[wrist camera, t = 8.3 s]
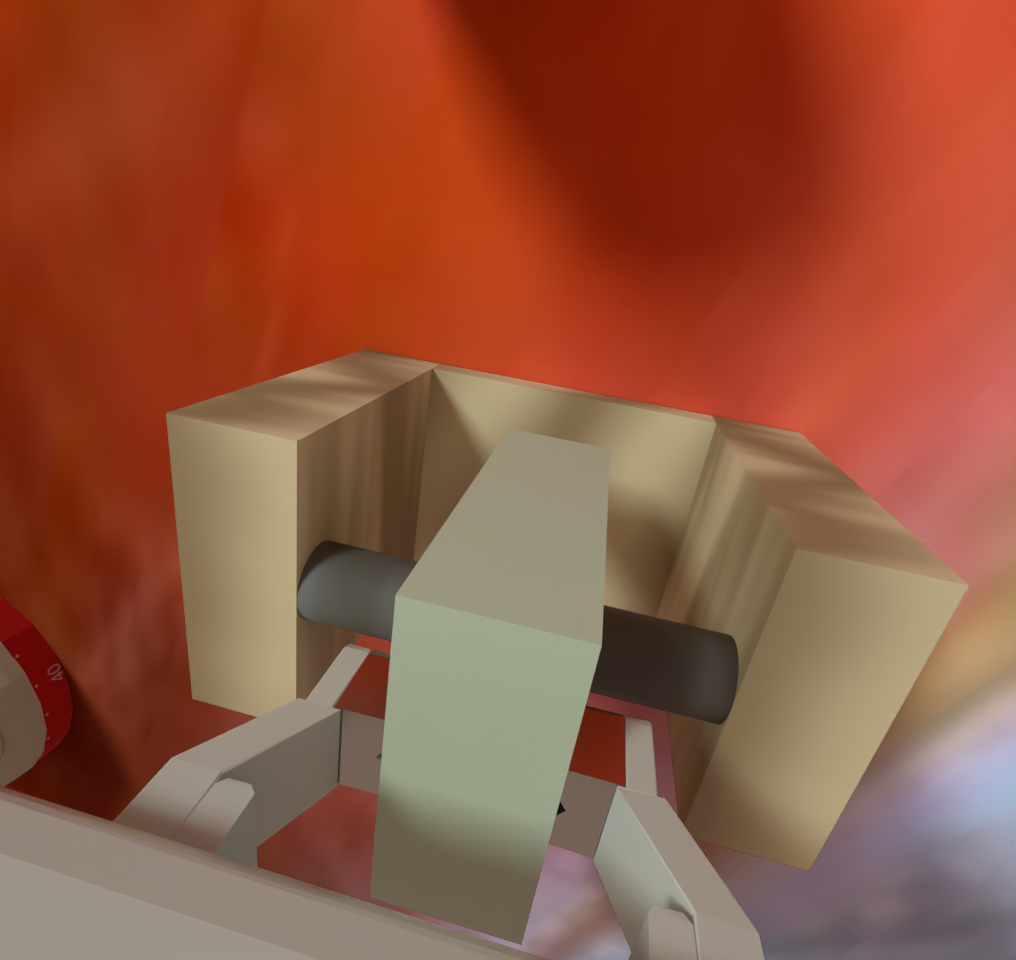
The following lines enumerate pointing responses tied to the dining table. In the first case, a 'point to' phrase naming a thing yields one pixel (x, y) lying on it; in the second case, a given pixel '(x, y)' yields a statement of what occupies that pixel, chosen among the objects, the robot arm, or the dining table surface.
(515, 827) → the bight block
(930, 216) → the dining table surface
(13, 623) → the kitchen timer
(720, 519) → the wooden frame with rod
